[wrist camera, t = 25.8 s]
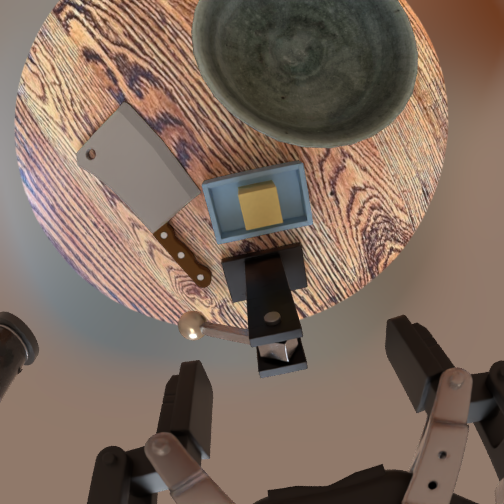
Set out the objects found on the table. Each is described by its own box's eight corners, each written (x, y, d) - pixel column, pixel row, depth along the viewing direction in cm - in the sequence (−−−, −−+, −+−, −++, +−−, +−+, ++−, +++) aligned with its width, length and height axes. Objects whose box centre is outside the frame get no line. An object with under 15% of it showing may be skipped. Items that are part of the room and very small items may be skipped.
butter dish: (218, 237, 38) (217, 244, 35) (203, 180, 35) (201, 184, 32) (308, 217, 37) (313, 224, 35) (298, 160, 34) (303, 163, 32)
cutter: (232, 298, 41) (232, 386, 27) (221, 258, 39) (213, 340, 24) (305, 282, 41) (337, 365, 26) (299, 241, 38) (334, 315, 24)
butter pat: (245, 219, 36) (246, 230, 33) (237, 186, 35) (237, 194, 31) (278, 212, 36) (283, 222, 33) (272, 179, 35) (276, 186, 31)
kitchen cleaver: (252, 255, 38) (189, 298, 39) (251, 252, 39) (190, 295, 40) (127, 97, 30) (69, 154, 31) (130, 98, 31) (72, 153, 32)
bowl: (165, 63, 29) (139, 43, 20) (288, -43, 23) (303, -84, 14) (299, 177, 35) (321, 197, 26) (408, 68, 29) (455, 59, 20)
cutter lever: (194, 325, 35) (178, 342, 32) (185, 303, 33) (168, 320, 31) (300, 345, 28) (287, 368, 26) (296, 319, 27) (282, 343, 24)
